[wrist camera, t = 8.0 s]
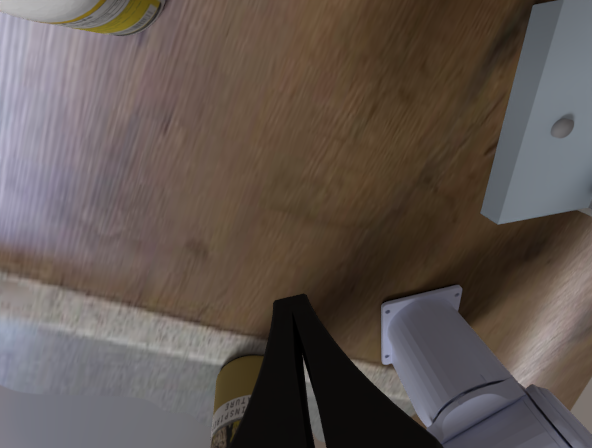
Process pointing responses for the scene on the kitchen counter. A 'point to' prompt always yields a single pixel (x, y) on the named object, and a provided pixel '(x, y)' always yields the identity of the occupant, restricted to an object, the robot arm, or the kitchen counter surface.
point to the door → (547, 120)
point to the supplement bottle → (89, 14)
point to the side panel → (587, 210)
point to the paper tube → (233, 397)
